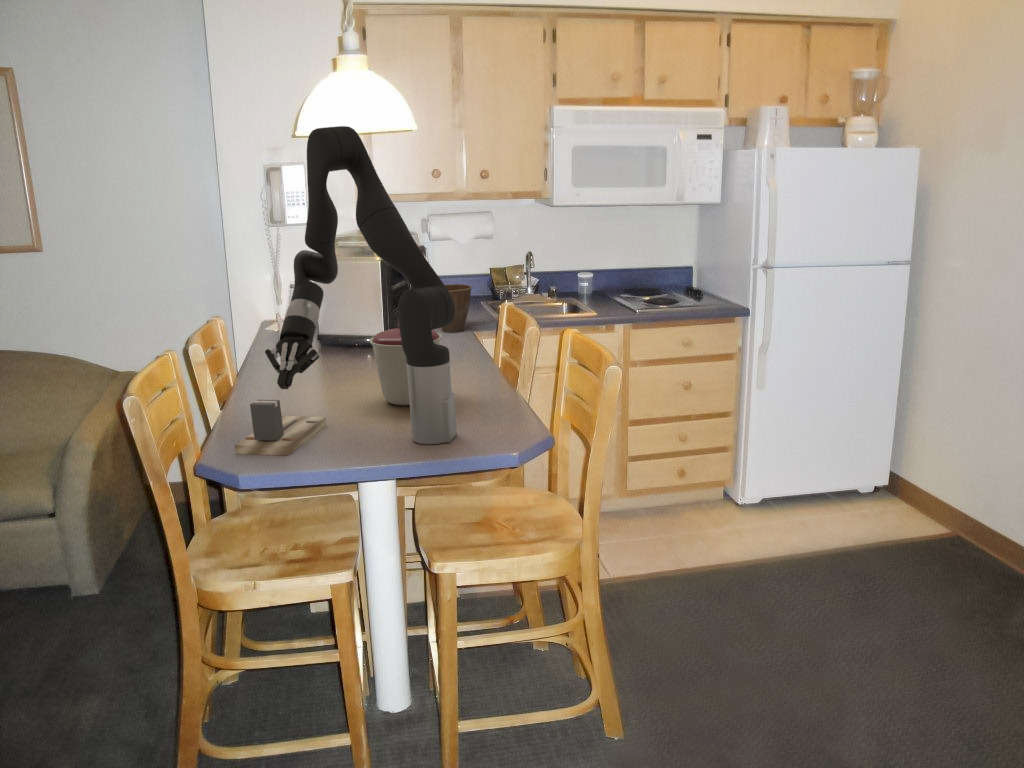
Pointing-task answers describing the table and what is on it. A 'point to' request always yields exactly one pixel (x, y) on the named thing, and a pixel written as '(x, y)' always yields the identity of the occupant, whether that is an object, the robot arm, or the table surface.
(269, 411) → the fader knob
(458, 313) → the plant pot
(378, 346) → the canister
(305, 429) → the fader panel
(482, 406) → the table surface
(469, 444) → the table surface
